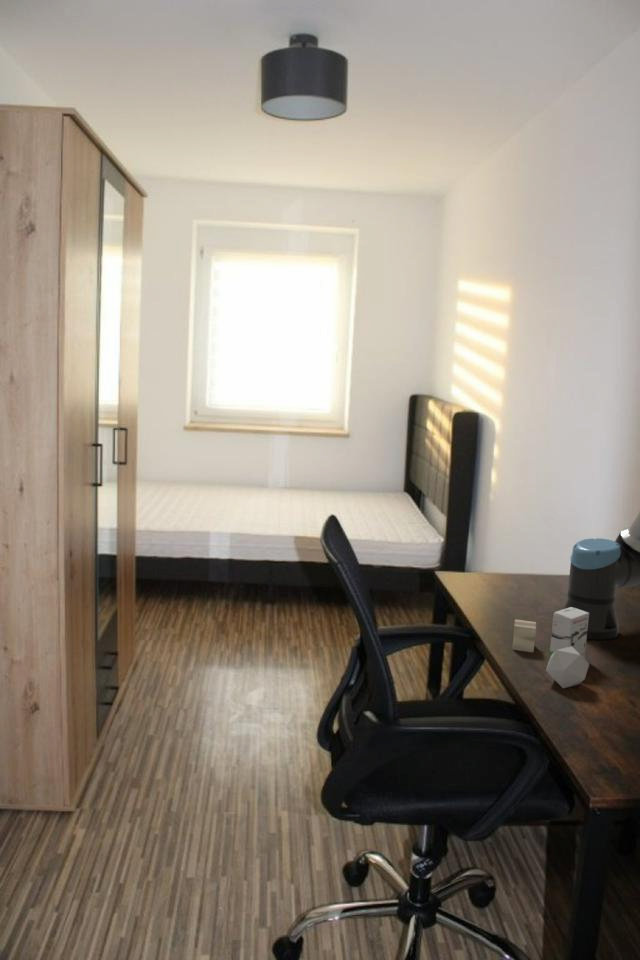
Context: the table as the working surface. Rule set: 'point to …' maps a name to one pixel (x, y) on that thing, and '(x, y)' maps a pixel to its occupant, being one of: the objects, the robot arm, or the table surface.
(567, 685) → the die
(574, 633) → the ink box
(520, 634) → the birch block
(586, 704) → the table surface
